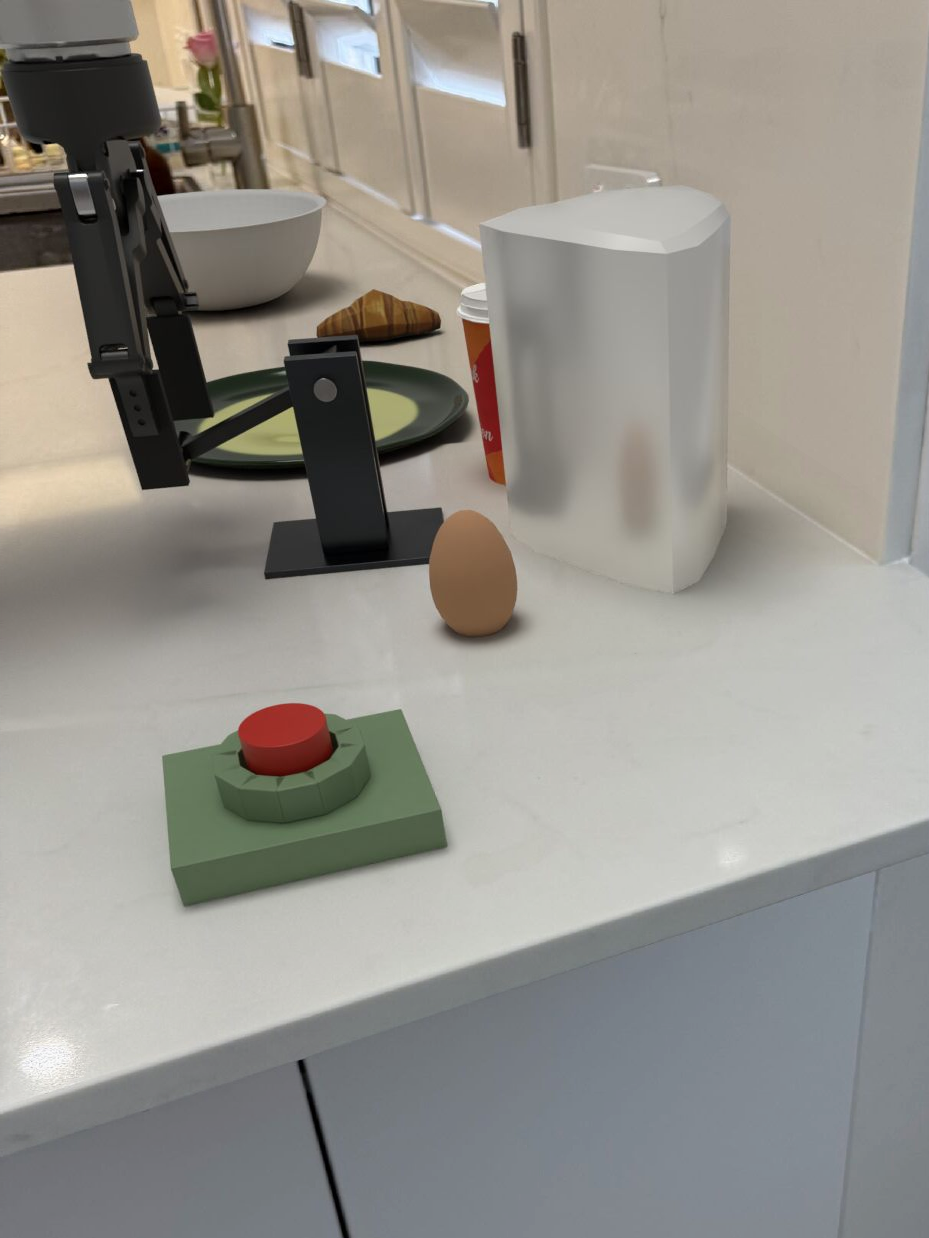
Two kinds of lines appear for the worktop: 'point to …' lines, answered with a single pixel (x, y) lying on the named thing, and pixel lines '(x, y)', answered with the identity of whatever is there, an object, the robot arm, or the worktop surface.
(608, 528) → the frosted triangular prism
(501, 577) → the egg
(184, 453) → the lever
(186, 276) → the bowl
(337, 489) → the bracket
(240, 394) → the plate
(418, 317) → the croissant
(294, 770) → the button
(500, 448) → the paper cup
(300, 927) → the worktop surface
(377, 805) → the control block
